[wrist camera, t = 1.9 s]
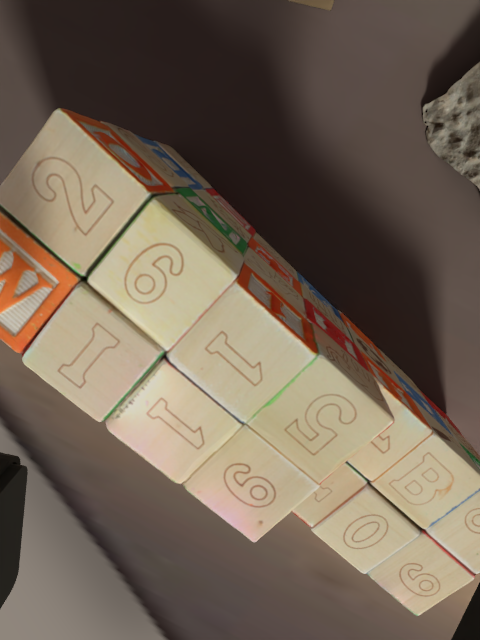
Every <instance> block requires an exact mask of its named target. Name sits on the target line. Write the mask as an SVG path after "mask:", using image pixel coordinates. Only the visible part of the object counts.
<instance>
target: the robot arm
mask: <svg viewBox="0 0 480 640" xmlns="http://www.w3.org/2000/svg"><path fill="white" fill-rule="evenodd" d="M26 483H27V467H26V466H22V465H20V459H19V457H18V456H14V455H9V454H4V453H0V608H1V607H2V605H3V604H4V602H5V600H6V599H7V597H8V595H9V594H10V592H11V590H12V588H13V586H14V584H15V581H16V578H17V575H18V570H19V560H20V549H21V538H22V527H23V516H24V505H25V493H26ZM451 640H480V583H479V585H478V587H477V589H476V591H475V593H474V595H473V597H472V599H471V601H470V603H469V605H468V607H467V609H466V611H465V613H464V615H463V617H462V619H461V621H460V623H459V625H458V627H457V629H456V631H455V633H454V635H453V637H452V639H451Z"/></svg>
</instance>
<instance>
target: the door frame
mask: <svg viewBox="0 0 480 640" xmlns="http://www.w3.org/2000/svg"><path fill="white" fill-rule="evenodd" d="M287 1H291V2H296V3H300V4H304V5H309V6H313V7H317V8H322V9H326V10H330V11H331V9H332V6H333V3H334V0H287Z"/></svg>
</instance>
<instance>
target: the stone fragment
mask: <svg viewBox="0 0 480 640" xmlns="http://www.w3.org/2000/svg"><path fill="white" fill-rule="evenodd" d="M426 109H427V113H426V112H425V111H426ZM425 121H426V123H427V124H426V123H424V124H426V125H428V129H427V131H426V137H427V141H428V144H429V145H430V146H431V148H432V149H433V151H434V152H435V153H436V154H437V156H439V157H440V158H442V159H443V160H444V161H446V162H447V163H449V164H450V165H451V166H452V167H454V169H455V170H457V171H458V172H459V173H460V174H461V175H463V176H465V177H466V178H468V179H469V180H470V181H472V182H473V184H475V185H476V186H478V188H479V189H480V62H479V63H478V64H477V65H475V66H474V67H473V68H472V69H471V70H469V71H468V72H467V73H466V74H465V75H464V76H463V77H462V79H460V80H459V81H457V82H456V83H455V84H454V85H453V86H452V87H451V88H450V89H449V90H448V91H447V93H446V94H445V95H443V96H441V97H439V98H437V99H436V100H433V101H432V102H431V103H428V104H425V106H424V107H423V122H425ZM430 122H431V123H430Z"/></svg>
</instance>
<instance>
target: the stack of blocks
mask: <svg viewBox="0 0 480 640" xmlns="http://www.w3.org/2000/svg"><path fill="white" fill-rule="evenodd" d="M0 339H1V340H2V341H3V342H4V343H6V344H7V345H8V346H9V347H11V348H12V349H13V350H14V351H15V352H17V353H20V354H22V361H23V363H24V364H25V365H26V366H27V367H28V368H30V369H31V370H33V371H34V372H35V373H36V374H38V375H39V376H40V377H41V378H42V379H43V380H45V381H46V382H47V383H49V384H50V385H51V386H53V387H54V388H55V389H57V390H58V391H59V392H60V393H62V394H63V395H64V396H65V397H67V398H68V399H69V400H70V401H72V402H73V403H74V404H75V405H77V406H78V407H79V408H81V409H82V410H83V411H85V412H86V413H87V414H89V415H90V416H91V417H93V418H94V419H95V420H97V421H99V422H103V421H104V422H106V426H107V428H108V430H109V432H110V433H112V434H113V435H115V436H116V437H117V438H118V439H119V440H120V441H121V442H123V443H124V444H126V445H127V446H128V447H130V448H131V449H132V450H134V451H135V452H136V453H137V454H139V455H140V456H141V457H142V458H144V459H145V460H146V461H148V462H149V463H150V464H152V465H153V466H154V467H156V468H157V469H158V470H159V471H161V472H162V473H163V474H164V475H166V476H167V477H168V478H169V479H171V480H172V481H174V482H176V483H180V484H183V486H184V487H185V489H186V490H187V491H188V492H189V493H190V494H192V495H193V496H194V497H196V498H197V499H198V500H199V501H201V502H202V503H203V504H205V505H206V506H207V507H208V508H210V509H211V510H212V511H214V512H215V513H216V514H217V515H219V516H220V517H221V518H222V519H224V520H225V521H226V522H227V523H229V524H230V525H231V526H233V527H234V528H235V529H237V530H238V531H239V532H241V533H242V534H243V535H245V536H246V537H247V538H248V539H250V540H251V541H253V542H256V541H257V540H258V539H260V538H261V537H262V536H263V535H264V534H265V533H266V532H268V531H269V530H270V529H271V528H272V527H273V526H275V525H276V524H277V523H278V522H279V521H281V520H282V519H283V518H284V517H285V516H286V515H288V514H289V513H290V512H293V513H294V514H295V515H296V516H297V517H299V518H300V519H301V520H302V521H303V522H304V523H306V524H307V525H308V526H310V528H311V530H312V531H313V533H315V534H316V535H317V536H318V537H319V538H321V539H322V540H323V541H324V542H325V543H327V544H328V545H329V546H330V547H331V548H333V549H334V550H335V551H336V552H337V553H338V554H340V555H341V556H342V557H343V558H344V559H346V560H347V561H348V562H349V563H351V564H352V565H353V566H354V567H355V568H357V569H358V570H359V571H360V572H361V573H363V574H368V575H369V576H370V577H371V578H372V579H373V580H374V581H375V582H376V583H377V584H379V585H380V586H381V587H382V588H383V589H385V590H386V591H387V592H388V593H389V594H391V595H392V596H393V597H394V598H395V599H396V600H397V601H399V602H400V603H402V604H403V605H404V606H405V607H406V608H407V609H408V610H410V611H411V612H412V613H413V614H414V615H417V616H418V615H420V614H422V613H423V612H425V611H426V610H428V609H429V608H431V607H432V606H434V605H435V604H437V603H438V602H440V601H441V600H443V599H444V598H446V597H447V596H449V595H450V594H452V593H454V592H455V591H457V590H458V589H460V588H461V587H463V586H465V585H466V584H468V583H469V582H471V581H472V580H474V577H475V575H476V574H478V573H480V456H479V455H478V453H477V452H476V451H475V450H474V448H473V447H472V446H471V445H470V444H469V443H468V442H467V441H466V440H465V438H464V437H463V436H462V434H461V433H460V431H459V430H458V428H457V427H456V426H455V425H454V424H453V422H452V421H451V420H450V419H449V417H448V416H447V415H446V414H445V413H444V412H443V411H442V410H441V409H439V408H438V407H437V406H436V405H435V404H434V403H433V402H432V401H431V400H430V399H429V398H428V397H427V396H426V395H424V394H423V393H422V392H421V391H420V390H419V389H418V388H417V386H416V385H415V384H414V382H413V381H412V380H411V379H410V378H409V377H408V376H407V375H406V374H405V373H404V372H403V371H402V370H401V369H400V368H399V367H398V366H397V365H395V364H394V363H393V362H392V361H391V360H390V359H389V358H388V357H387V356H386V355H385V354H384V353H383V352H382V351H381V350H380V349H379V348H377V347H376V346H375V344H374V343H373V342H372V341H371V340H370V339H369V338H368V337H367V336H366V335H365V334H364V333H362V332H361V331H360V330H359V329H358V328H357V327H356V326H355V325H354V324H353V323H352V322H351V321H350V320H349V319H348V318H347V317H346V316H345V315H344V314H343V313H342V312H341V311H339V310H337V309H335V308H334V307H333V306H332V305H331V304H330V303H329V302H328V301H327V300H326V299H325V298H324V297H323V296H322V295H321V294H320V293H319V292H318V291H317V290H316V289H315V288H314V287H313V286H312V285H311V284H310V283H309V282H308V281H307V280H306V279H305V278H304V277H303V276H302V275H301V274H299V273H298V272H297V271H296V270H295V269H294V268H293V267H292V266H291V265H290V264H289V263H288V262H287V261H286V260H284V259H283V258H282V257H281V256H280V255H279V254H278V253H277V252H276V251H275V250H274V249H273V248H272V247H271V246H270V245H269V244H268V243H267V242H266V241H265V240H264V239H263V238H262V237H261V236H260V235H258V234H257V233H256V231H255V229H254V228H253V227H252V226H251V225H250V224H249V223H248V222H247V221H246V220H245V219H244V218H243V217H242V216H241V215H240V214H239V213H238V212H237V211H236V210H235V209H234V208H233V207H232V206H231V205H230V204H229V203H228V202H227V201H226V200H225V199H224V198H222V197H221V196H220V195H219V194H218V193H217V192H216V191H215V190H214V189H213V188H212V186H211V185H210V184H209V183H208V182H207V181H206V180H205V179H204V178H203V177H202V176H201V175H200V174H199V173H198V172H197V171H196V170H195V169H194V168H193V167H192V166H190V165H189V164H188V163H187V162H186V161H185V160H184V159H183V158H182V157H181V156H180V155H179V154H178V153H177V152H176V151H175V150H174V149H173V148H172V147H170V146H169V145H166V144H162V143H160V142H158V141H151V140H149V139H146V138H143V137H140V136H138V135H136V134H133V133H132V132H131V131H129V130H125V129H123V128H121V127H118V126H116V125H113V124H110V123H107V122H104V121H100V122H99V121H96V120H94V119H91V118H89V117H86V116H83V115H80V114H78V113H75V112H73V111H70V110H67V109H63V108H58V109H56V110H55V111H54V112H53V113H52V115H51V116H50V118H49V119H48V121H47V122H46V124H45V125H44V126H43V128H42V129H41V131H40V132H39V133H38V135H37V136H36V138H35V139H34V140H33V142H32V143H31V145H30V146H29V147H28V149H27V150H26V152H25V153H24V154H23V156H22V157H21V159H20V160H19V161H18V163H17V164H16V165H15V167H14V168H13V170H12V171H11V172H10V174H9V175H8V176H7V178H6V179H5V180H4V182H3V183H2V184H1V186H0Z"/></svg>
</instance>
